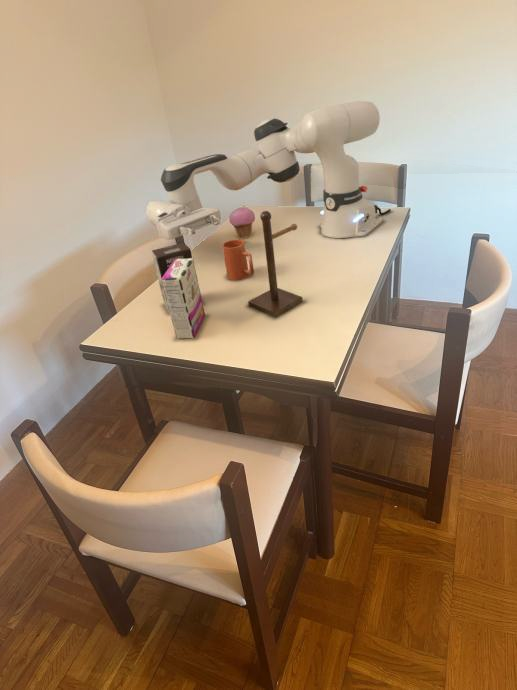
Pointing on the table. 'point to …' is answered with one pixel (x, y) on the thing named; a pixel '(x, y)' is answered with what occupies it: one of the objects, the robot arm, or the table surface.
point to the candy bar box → (183, 298)
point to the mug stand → (273, 276)
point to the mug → (237, 260)
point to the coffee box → (168, 261)
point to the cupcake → (242, 221)
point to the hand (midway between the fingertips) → (205, 226)
